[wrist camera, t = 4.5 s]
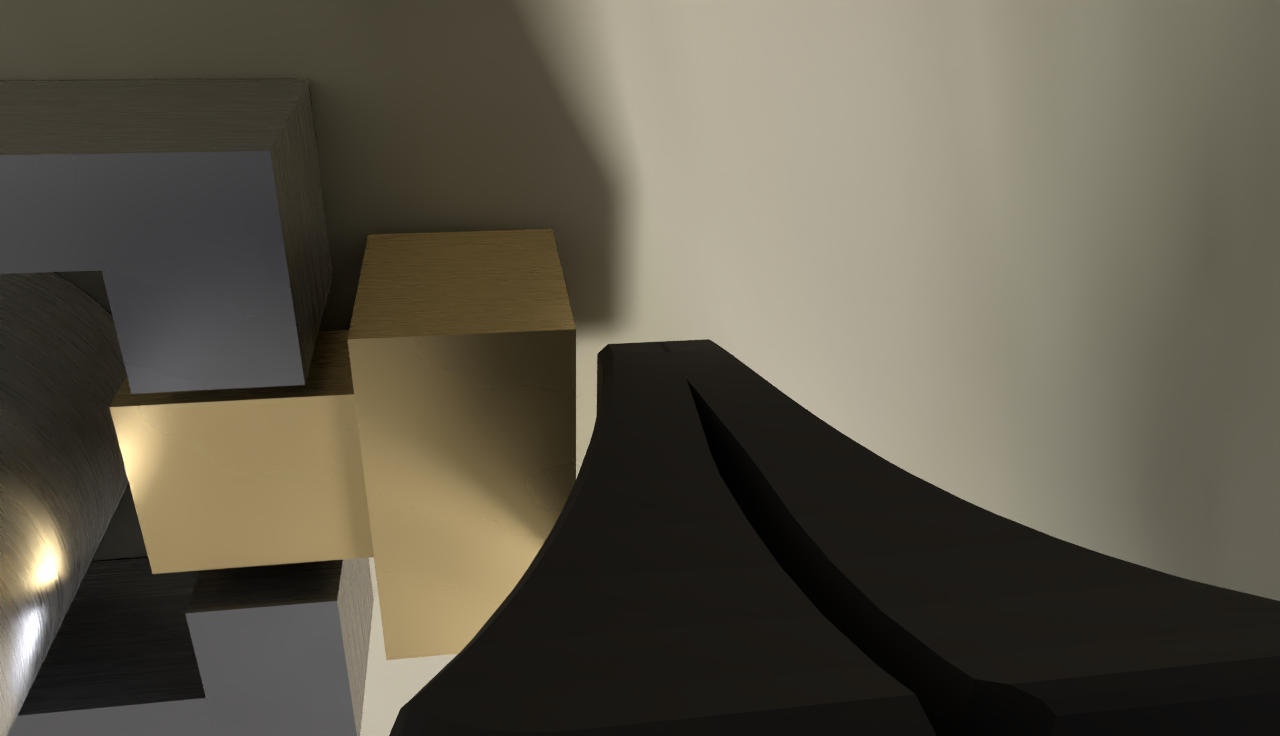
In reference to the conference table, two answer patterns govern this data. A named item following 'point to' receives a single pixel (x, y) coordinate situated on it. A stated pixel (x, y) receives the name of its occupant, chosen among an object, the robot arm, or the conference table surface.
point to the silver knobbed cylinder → (51, 463)
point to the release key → (385, 439)
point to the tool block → (188, 388)
